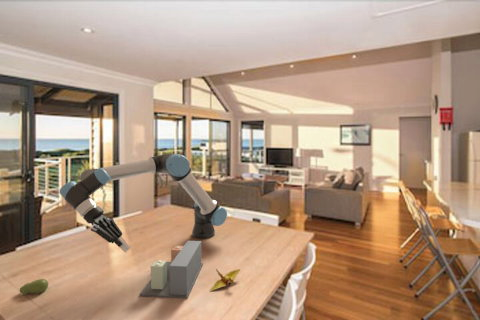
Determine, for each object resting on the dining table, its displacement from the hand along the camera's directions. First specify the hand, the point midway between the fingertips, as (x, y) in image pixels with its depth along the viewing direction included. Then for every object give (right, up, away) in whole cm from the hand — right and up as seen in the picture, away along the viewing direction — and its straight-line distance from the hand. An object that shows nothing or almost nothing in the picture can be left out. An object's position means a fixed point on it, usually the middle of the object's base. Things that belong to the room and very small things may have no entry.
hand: (127, 249), depth 112 cm
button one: (+19, -13, +13) cm, 27 cm away
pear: (-37, -16, -5) cm, 41 cm away
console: (+19, -15, +5) cm, 25 cm away
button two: (+15, -15, -3) cm, 21 cm away
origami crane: (+43, -16, +1) cm, 46 cm away
